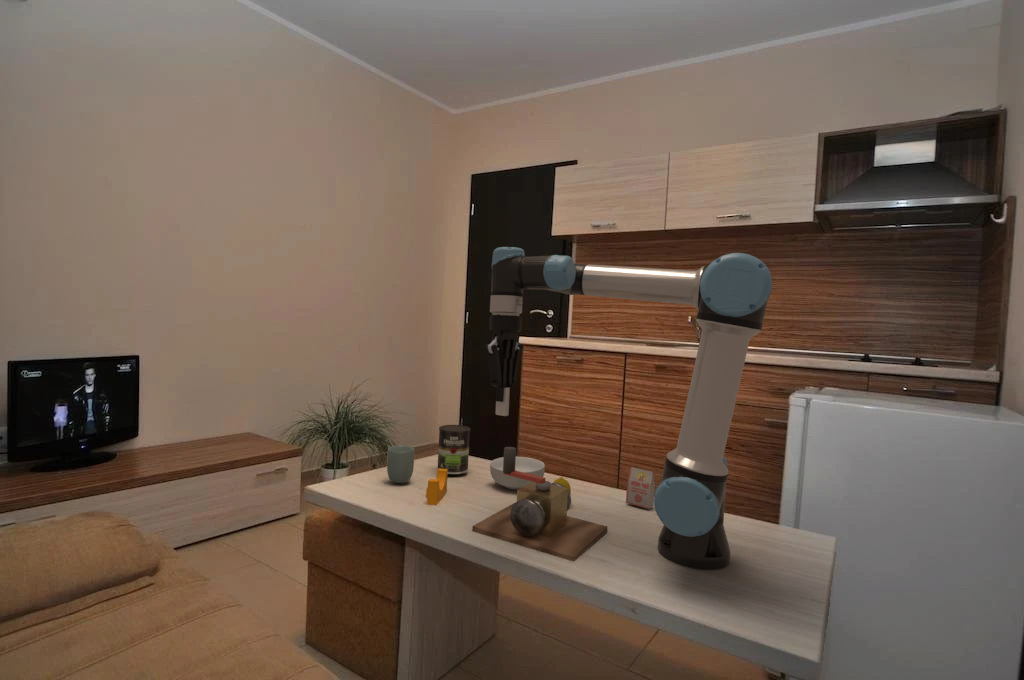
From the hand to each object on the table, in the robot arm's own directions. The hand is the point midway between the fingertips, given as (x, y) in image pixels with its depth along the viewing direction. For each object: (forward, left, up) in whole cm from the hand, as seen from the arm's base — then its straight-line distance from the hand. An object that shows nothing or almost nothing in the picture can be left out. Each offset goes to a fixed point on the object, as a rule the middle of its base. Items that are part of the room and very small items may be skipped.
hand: (502, 414), depth 119 cm
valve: (-9, -6, -27) cm, 29 cm away
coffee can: (+38, -33, -28) cm, 58 cm away
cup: (+43, -13, -28) cm, 53 cm away
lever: (-9, -6, -17) cm, 20 cm away
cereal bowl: (+13, -32, -28) cm, 45 cm away
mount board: (-9, -6, -28) cm, 30 cm away
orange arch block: (+27, -9, -28) cm, 40 cm away
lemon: (-5, -25, -28) cm, 38 cm away
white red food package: (-22, -41, -28) cm, 55 cm away
